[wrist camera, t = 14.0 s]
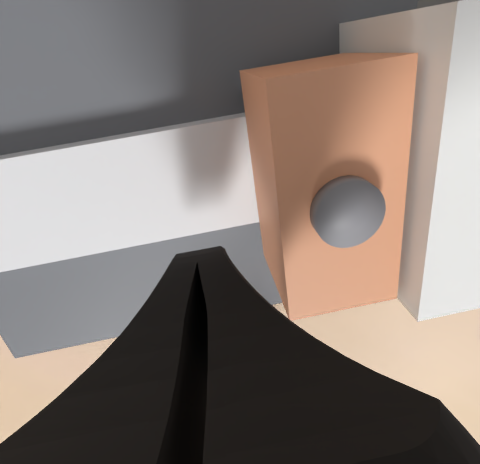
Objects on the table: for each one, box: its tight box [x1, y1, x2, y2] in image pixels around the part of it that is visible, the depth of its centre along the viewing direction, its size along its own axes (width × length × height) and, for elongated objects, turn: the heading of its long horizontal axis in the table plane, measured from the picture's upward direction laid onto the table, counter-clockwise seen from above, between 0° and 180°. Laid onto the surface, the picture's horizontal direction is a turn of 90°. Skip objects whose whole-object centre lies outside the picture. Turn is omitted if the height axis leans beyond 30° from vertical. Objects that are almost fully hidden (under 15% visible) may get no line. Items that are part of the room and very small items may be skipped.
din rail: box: [0, 0, 419, 358], centre depth 11 cm, size 20×12×3 cm, turn 98°
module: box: [339, 0, 480, 322], centre depth 10 cm, size 4×7×5 cm, turn 9°
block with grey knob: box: [239, 53, 418, 321], centre depth 9 cm, size 3×6×4 cm, turn 8°
